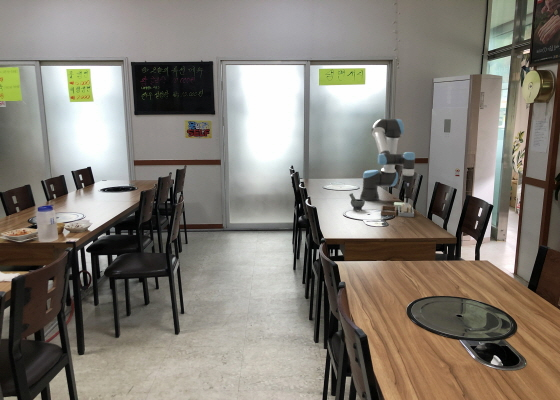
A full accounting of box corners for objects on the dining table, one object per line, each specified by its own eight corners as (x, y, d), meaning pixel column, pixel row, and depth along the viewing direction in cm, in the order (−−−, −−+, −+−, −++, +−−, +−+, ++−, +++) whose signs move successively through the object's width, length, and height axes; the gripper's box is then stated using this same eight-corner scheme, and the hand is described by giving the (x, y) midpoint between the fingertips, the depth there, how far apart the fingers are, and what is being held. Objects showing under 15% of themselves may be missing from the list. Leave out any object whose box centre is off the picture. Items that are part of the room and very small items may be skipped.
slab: (393, 206, 335) (394, 202, 335) (407, 207, 333) (408, 202, 332) (393, 209, 326) (394, 204, 325) (408, 210, 323) (408, 205, 323)
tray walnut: (381, 209, 327) (381, 205, 326) (395, 209, 324) (396, 206, 324) (380, 214, 308) (381, 211, 307) (396, 215, 305) (396, 212, 305)
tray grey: (398, 209, 324) (398, 206, 324) (412, 210, 322) (412, 207, 321) (398, 215, 305) (398, 212, 305) (413, 216, 303) (414, 213, 302)
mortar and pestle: (363, 208, 328) (364, 192, 326) (365, 211, 319) (365, 194, 316) (348, 208, 329) (348, 191, 326) (349, 210, 319) (349, 194, 317)
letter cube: (401, 212, 317) (401, 203, 316) (410, 212, 316) (410, 204, 314) (401, 214, 311) (401, 205, 310) (410, 214, 310) (410, 206, 309)
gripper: (402, 172, 321) (400, 202, 325) (402, 176, 297) (401, 208, 301) (413, 173, 319) (411, 202, 323) (414, 177, 296) (412, 209, 299)
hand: (406, 205), depth 312 cm, fingers open, 13 cm apart
